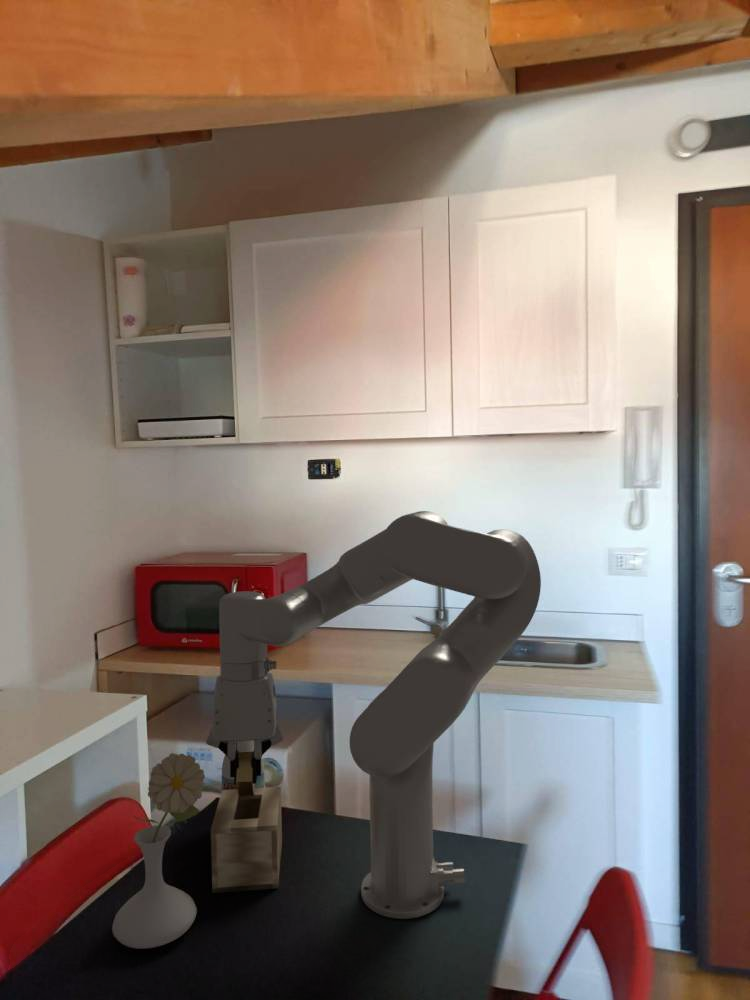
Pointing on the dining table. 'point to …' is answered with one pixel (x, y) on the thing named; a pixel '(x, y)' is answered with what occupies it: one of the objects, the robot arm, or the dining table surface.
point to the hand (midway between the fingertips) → (246, 779)
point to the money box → (247, 841)
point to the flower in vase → (158, 905)
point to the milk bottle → (226, 779)
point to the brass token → (245, 775)
